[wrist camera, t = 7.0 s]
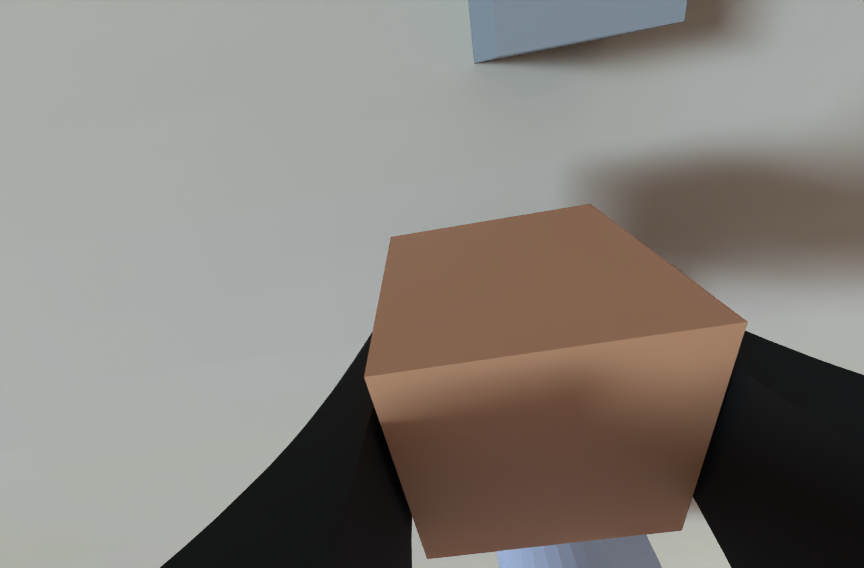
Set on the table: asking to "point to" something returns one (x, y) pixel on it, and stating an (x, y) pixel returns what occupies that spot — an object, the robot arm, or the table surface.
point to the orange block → (545, 381)
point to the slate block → (560, 23)
